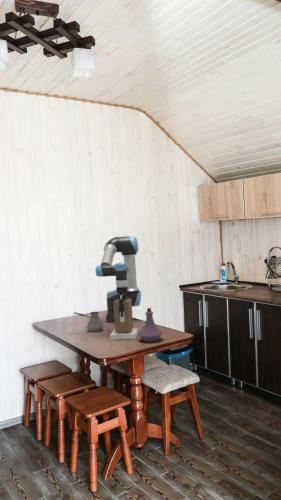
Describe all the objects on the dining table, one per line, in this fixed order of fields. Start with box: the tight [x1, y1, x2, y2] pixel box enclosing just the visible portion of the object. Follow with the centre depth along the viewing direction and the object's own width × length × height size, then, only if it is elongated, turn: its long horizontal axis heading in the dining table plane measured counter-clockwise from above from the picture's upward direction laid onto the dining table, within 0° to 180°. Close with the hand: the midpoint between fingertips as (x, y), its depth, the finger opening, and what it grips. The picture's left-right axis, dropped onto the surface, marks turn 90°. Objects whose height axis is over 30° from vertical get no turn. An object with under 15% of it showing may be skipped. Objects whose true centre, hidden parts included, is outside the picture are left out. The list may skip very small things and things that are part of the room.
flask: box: [137, 307, 164, 343], centre depth 272 cm, size 16×16×20 cm
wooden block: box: [113, 299, 134, 332], centre depth 285 cm, size 10×10×20 cm
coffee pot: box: [73, 311, 104, 333], centre depth 304 cm, size 21×12×15 cm, turn 117°
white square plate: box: [109, 327, 139, 341], centre depth 286 cm, size 16×16×3 cm
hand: (123, 319), depth 286 cm, fingers closed on wooden block, 10 cm apart
